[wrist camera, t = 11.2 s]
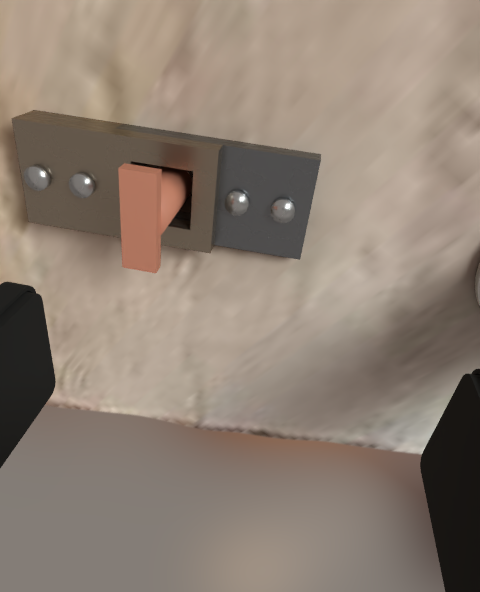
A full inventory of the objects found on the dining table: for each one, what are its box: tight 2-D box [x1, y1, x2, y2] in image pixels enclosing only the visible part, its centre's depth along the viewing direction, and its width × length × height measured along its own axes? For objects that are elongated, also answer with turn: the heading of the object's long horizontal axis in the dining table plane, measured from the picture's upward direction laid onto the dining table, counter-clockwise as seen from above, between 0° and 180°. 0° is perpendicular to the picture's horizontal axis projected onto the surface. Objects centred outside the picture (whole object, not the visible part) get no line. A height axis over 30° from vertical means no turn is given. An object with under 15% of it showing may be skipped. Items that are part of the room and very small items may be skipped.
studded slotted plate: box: [12, 110, 321, 260], centre depth 34 cm, size 22×8×4 cm, turn 84°
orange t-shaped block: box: [118, 163, 192, 273], centre depth 33 cm, size 3×7×8 cm, turn 173°
